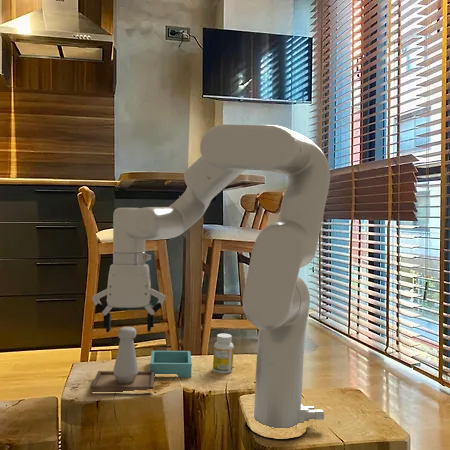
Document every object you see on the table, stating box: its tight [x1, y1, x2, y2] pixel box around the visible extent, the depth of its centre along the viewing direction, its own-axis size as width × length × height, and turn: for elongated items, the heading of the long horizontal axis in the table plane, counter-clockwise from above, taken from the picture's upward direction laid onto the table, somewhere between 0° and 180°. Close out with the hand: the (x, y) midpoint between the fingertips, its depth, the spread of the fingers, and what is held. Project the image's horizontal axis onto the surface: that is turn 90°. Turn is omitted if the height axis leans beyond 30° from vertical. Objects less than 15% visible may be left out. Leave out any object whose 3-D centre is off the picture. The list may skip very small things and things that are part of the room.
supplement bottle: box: [212, 333, 235, 375], centre depth 131 cm, size 5×5×10 cm
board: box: [90, 370, 155, 393], centre depth 117 cm, size 14×10×2 cm
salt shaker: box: [112, 326, 139, 384], centre depth 117 cm, size 6×6×13 cm
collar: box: [149, 350, 193, 378], centre depth 129 cm, size 11×11×4 cm
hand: (128, 330), depth 116 cm, fingers open, 9 cm apart
